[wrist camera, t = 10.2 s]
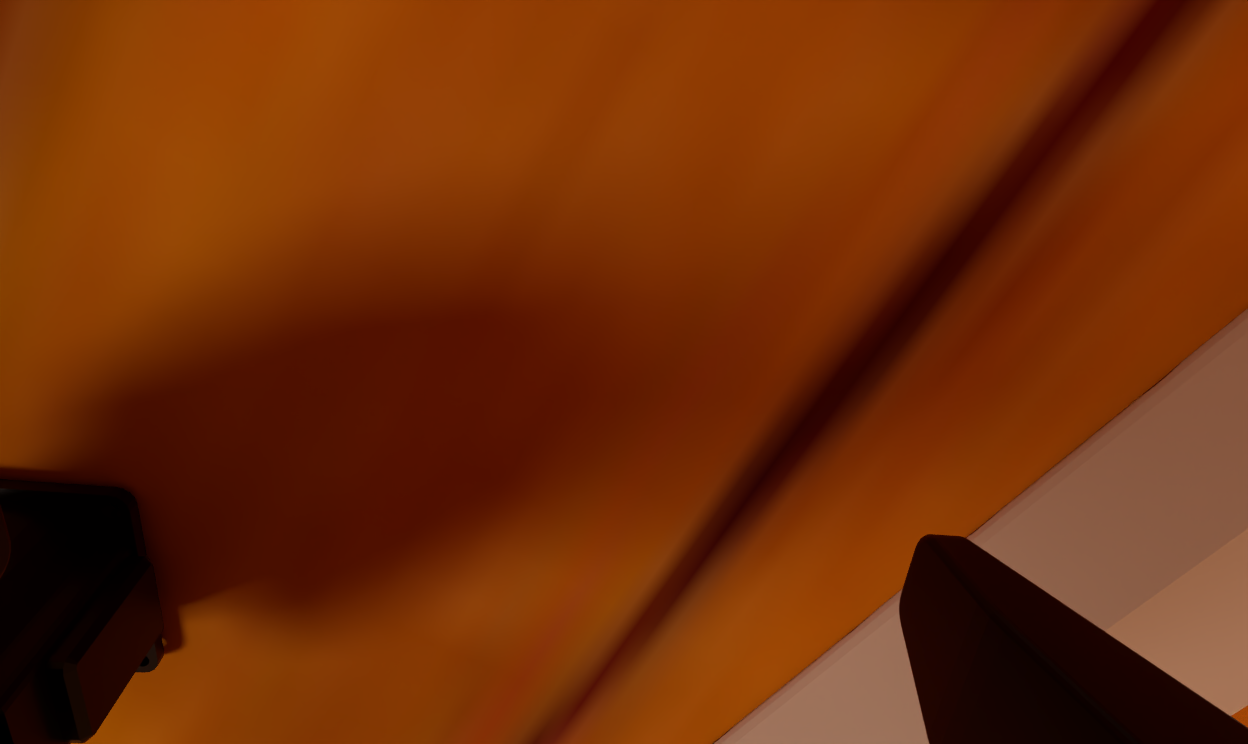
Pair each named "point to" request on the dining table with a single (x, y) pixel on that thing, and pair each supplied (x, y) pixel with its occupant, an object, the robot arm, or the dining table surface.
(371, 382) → the dining table surface
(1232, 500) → the decorative molding
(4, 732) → the robot arm
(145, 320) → the dining table surface
